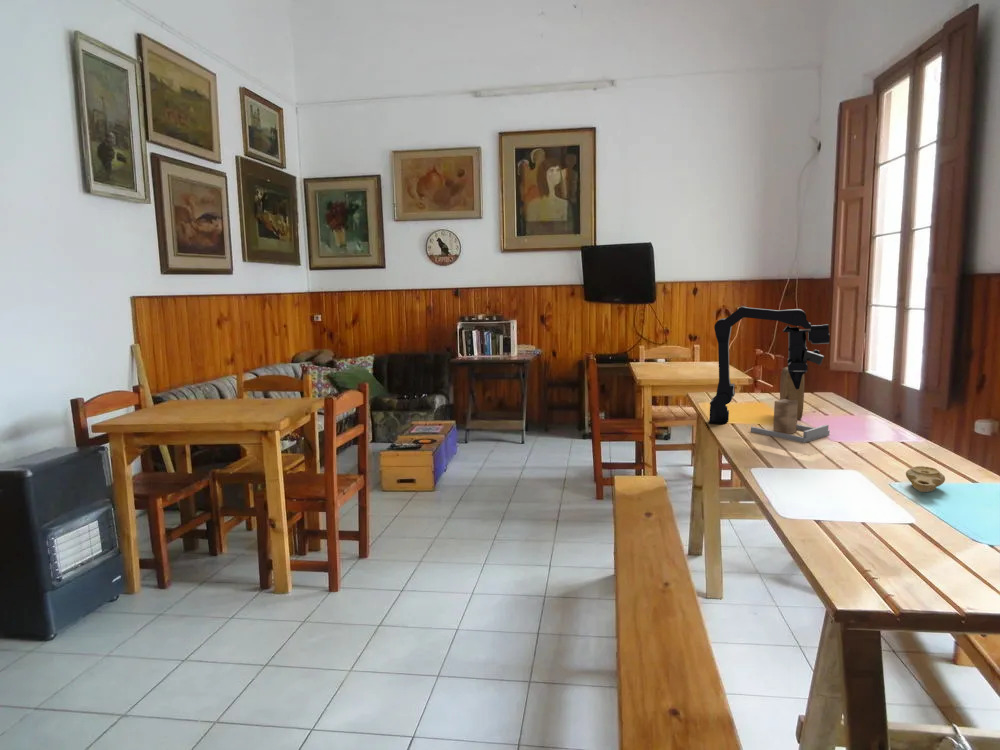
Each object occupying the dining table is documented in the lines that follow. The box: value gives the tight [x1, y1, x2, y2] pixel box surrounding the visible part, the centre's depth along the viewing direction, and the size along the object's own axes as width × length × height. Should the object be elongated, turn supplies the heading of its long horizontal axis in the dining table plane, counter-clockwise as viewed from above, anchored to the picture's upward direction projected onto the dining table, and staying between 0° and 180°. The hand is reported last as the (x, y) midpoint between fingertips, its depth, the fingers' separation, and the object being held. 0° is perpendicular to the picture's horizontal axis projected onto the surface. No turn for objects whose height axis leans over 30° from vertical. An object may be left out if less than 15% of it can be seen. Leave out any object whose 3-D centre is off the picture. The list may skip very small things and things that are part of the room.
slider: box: [772, 399, 798, 435], centre depth 219 cm, size 5×6×11 cm
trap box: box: [750, 423, 831, 444], centre depth 218 cm, size 19×16×5 cm
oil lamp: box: [905, 465, 946, 493], centre depth 164 cm, size 11×14×5 cm
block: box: [779, 366, 805, 421], centre depth 245 cm, size 11×8×20 cm
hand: (797, 387), depth 228 cm, fingers open, 9 cm apart
